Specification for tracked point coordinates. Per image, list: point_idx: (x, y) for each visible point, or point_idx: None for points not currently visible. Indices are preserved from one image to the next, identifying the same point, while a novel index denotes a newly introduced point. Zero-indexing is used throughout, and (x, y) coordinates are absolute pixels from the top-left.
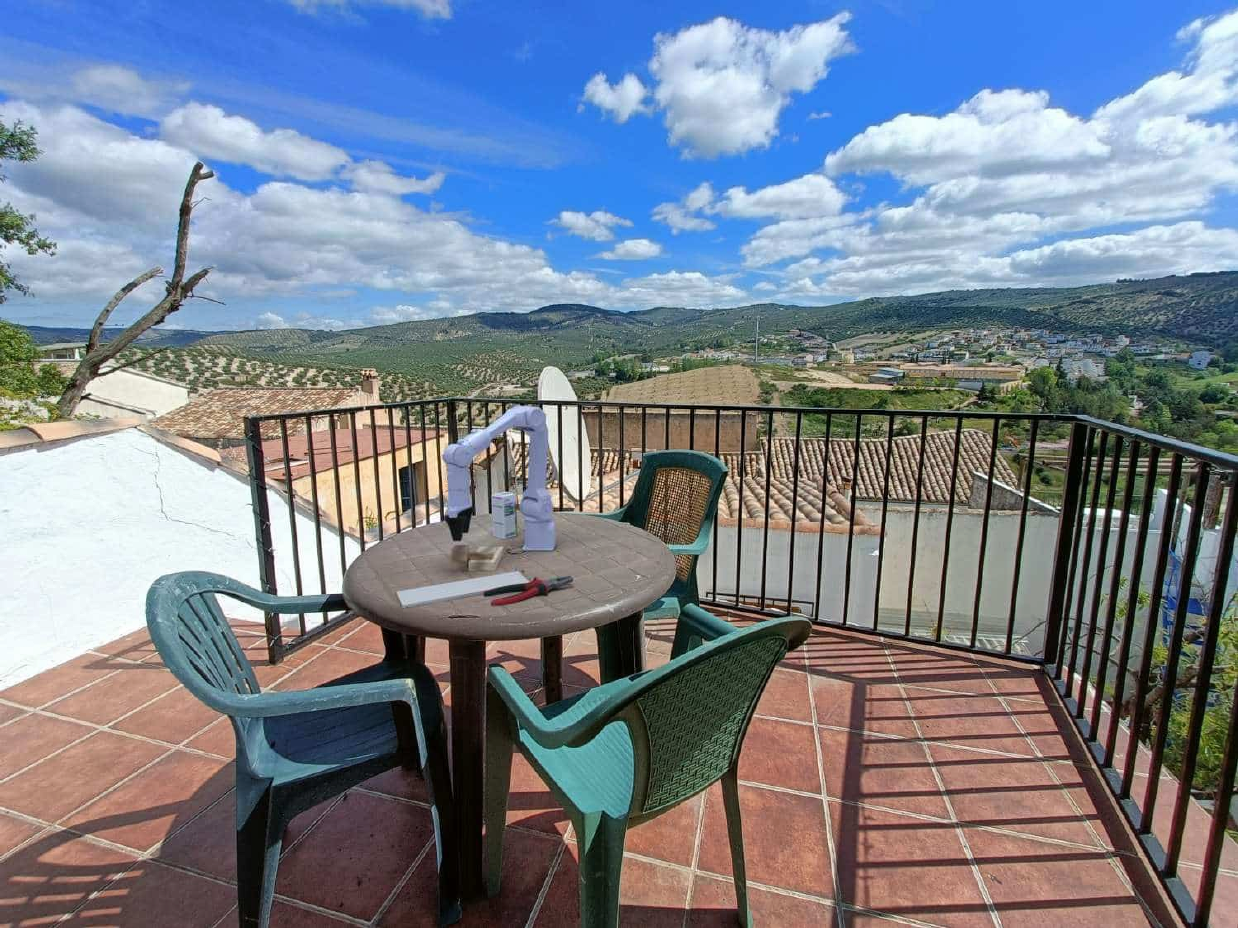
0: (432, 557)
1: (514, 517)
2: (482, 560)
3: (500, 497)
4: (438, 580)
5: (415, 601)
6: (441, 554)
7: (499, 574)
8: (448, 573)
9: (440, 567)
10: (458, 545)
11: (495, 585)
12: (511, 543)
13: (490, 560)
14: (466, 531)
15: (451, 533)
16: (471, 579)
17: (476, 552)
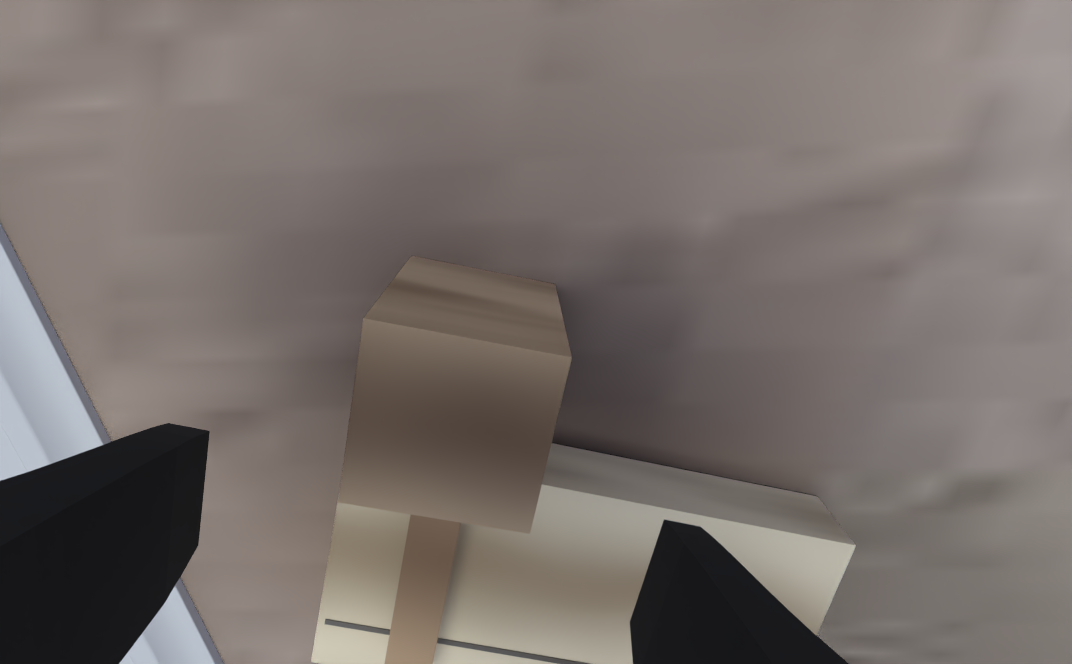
0: (911, 18)
1: None
2: (377, 569)
3: None
4: (123, 131)
5: None
6: (982, 120)
7: (148, 653)
8: (324, 223)
9: (529, 131)
10: (539, 405)
11: None
12: None
13: (367, 633)
14: (638, 627)
15: (37, 477)
16: (25, 446)
17: (448, 560)
